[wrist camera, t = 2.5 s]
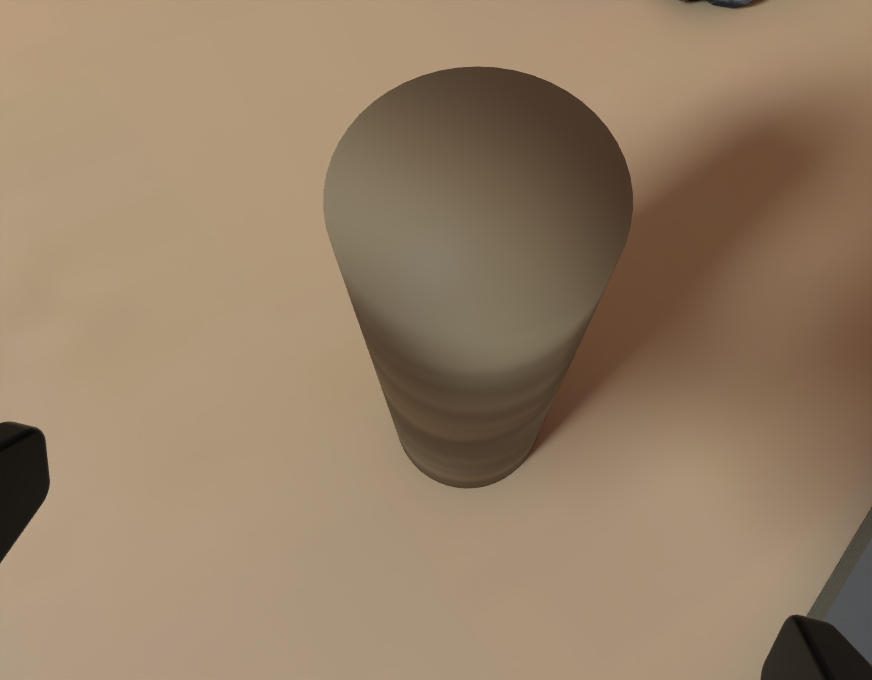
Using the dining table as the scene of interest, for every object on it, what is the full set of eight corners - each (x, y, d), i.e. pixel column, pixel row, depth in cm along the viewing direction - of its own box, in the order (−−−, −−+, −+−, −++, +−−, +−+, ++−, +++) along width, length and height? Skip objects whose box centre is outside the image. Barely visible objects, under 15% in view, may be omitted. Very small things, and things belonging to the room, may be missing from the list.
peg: (480, 518, 20) (508, 401, 9) (367, 428, 21) (259, 217, 10) (566, 405, 21) (693, 167, 10) (454, 324, 22) (451, 20, 10)
